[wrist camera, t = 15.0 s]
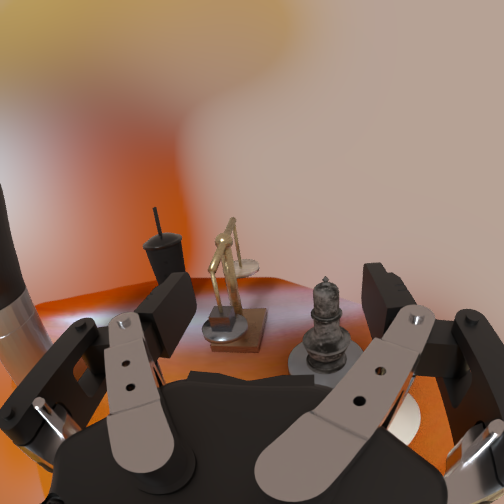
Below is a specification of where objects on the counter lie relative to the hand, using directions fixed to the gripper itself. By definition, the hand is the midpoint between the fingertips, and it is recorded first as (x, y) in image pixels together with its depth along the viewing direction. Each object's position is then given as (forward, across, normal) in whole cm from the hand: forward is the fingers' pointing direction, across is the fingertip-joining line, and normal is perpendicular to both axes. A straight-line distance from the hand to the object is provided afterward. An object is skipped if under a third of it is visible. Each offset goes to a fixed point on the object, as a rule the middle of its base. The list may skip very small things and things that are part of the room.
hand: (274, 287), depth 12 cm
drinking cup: (+32, +24, +22) cm, 45 cm away
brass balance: (+23, +9, +21) cm, 32 cm away
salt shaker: (+15, -4, +20) cm, 25 cm away
